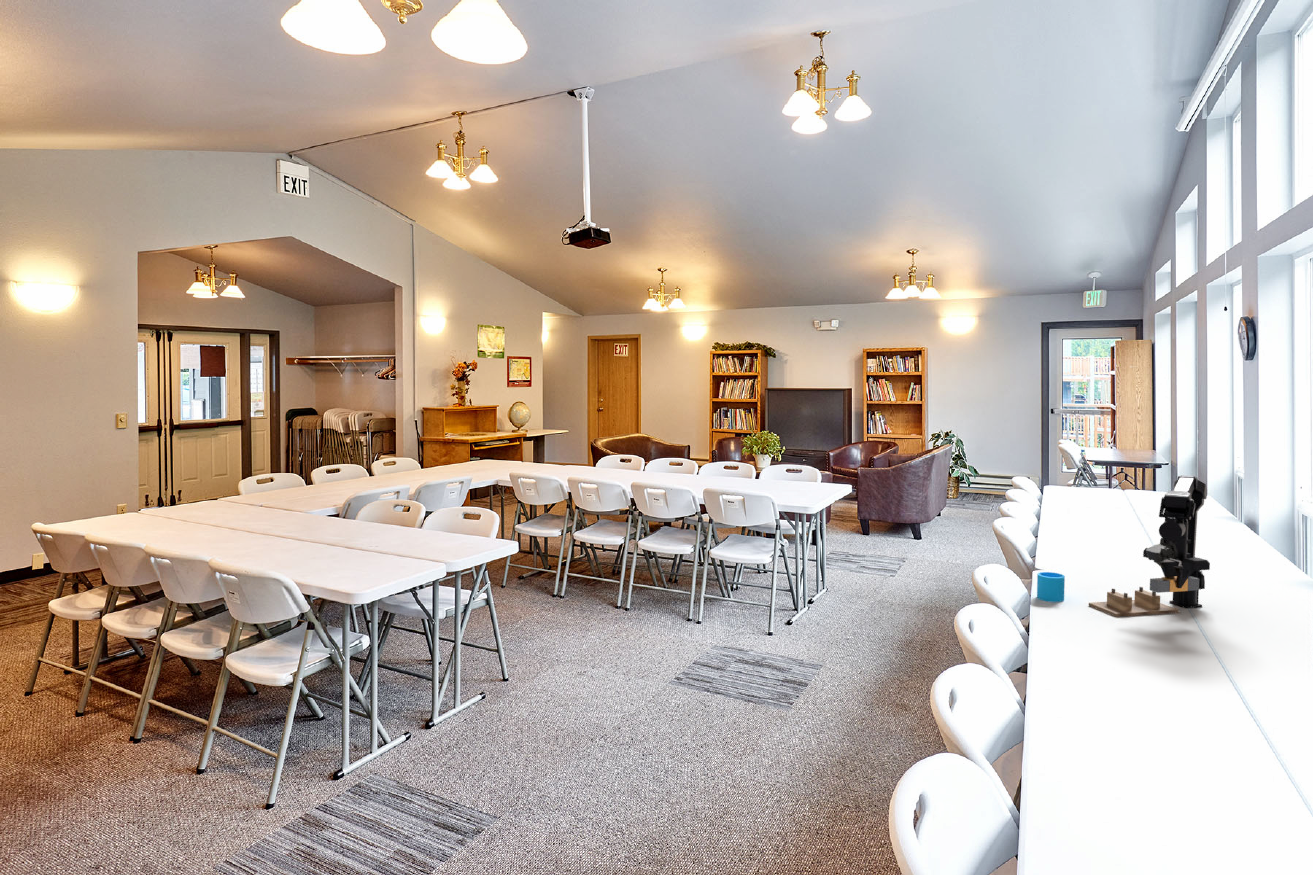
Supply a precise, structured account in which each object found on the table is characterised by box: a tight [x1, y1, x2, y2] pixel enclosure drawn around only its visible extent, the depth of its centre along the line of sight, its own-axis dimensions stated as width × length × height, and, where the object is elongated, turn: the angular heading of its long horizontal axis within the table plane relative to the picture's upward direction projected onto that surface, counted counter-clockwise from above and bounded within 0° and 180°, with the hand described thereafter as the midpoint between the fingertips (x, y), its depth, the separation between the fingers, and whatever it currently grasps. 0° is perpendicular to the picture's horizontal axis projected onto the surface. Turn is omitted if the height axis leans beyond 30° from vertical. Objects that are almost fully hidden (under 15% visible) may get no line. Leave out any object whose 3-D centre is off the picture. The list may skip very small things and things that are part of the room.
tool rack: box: [1088, 586, 1180, 618], centre depth 241 cm, size 22×12×6 cm, turn 98°
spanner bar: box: [1149, 576, 1200, 594], centre depth 227 cm, size 14×3×4 cm, turn 98°
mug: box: [1036, 571, 1066, 603], centre depth 255 cm, size 12×8×8 cm
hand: (1174, 586), depth 227 cm, fingers closed on spanner bar, 3 cm apart
